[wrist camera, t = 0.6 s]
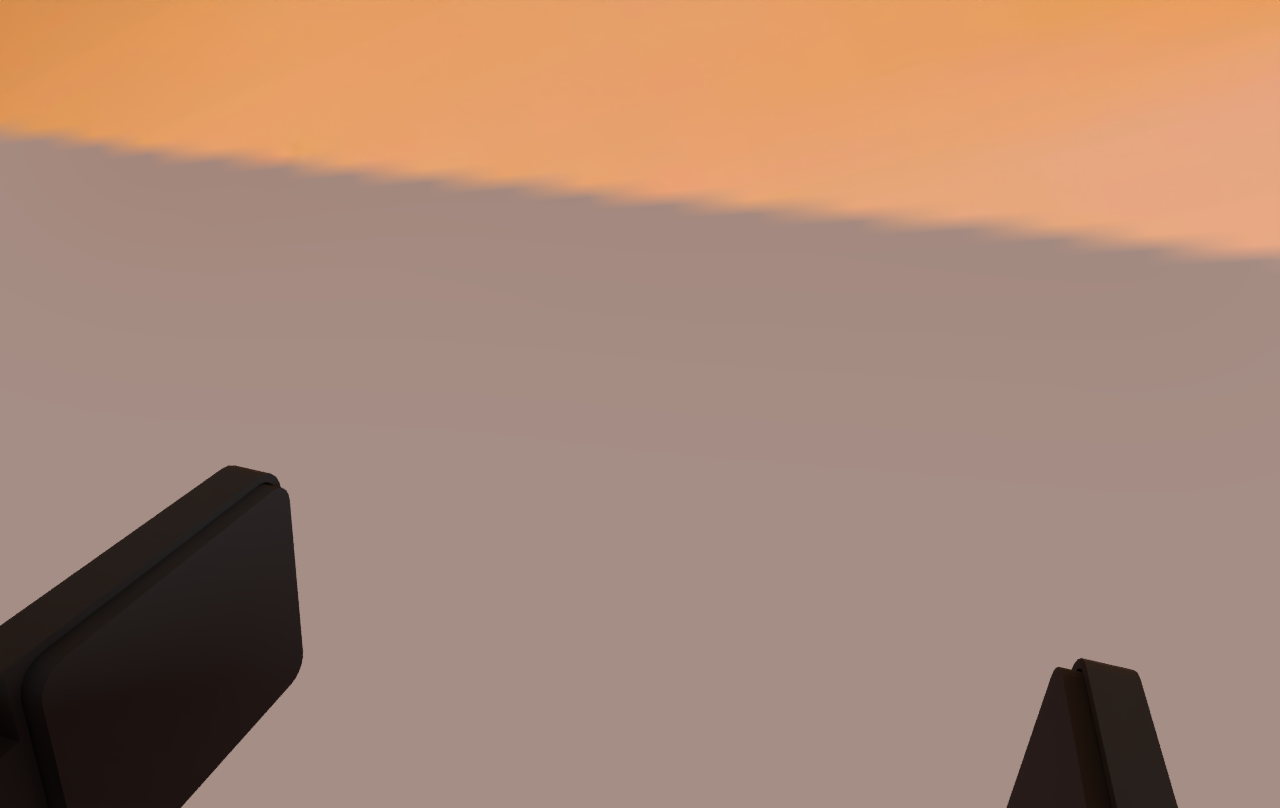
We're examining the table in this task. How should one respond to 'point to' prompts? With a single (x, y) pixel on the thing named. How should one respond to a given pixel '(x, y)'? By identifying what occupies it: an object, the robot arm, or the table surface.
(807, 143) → the table surface
